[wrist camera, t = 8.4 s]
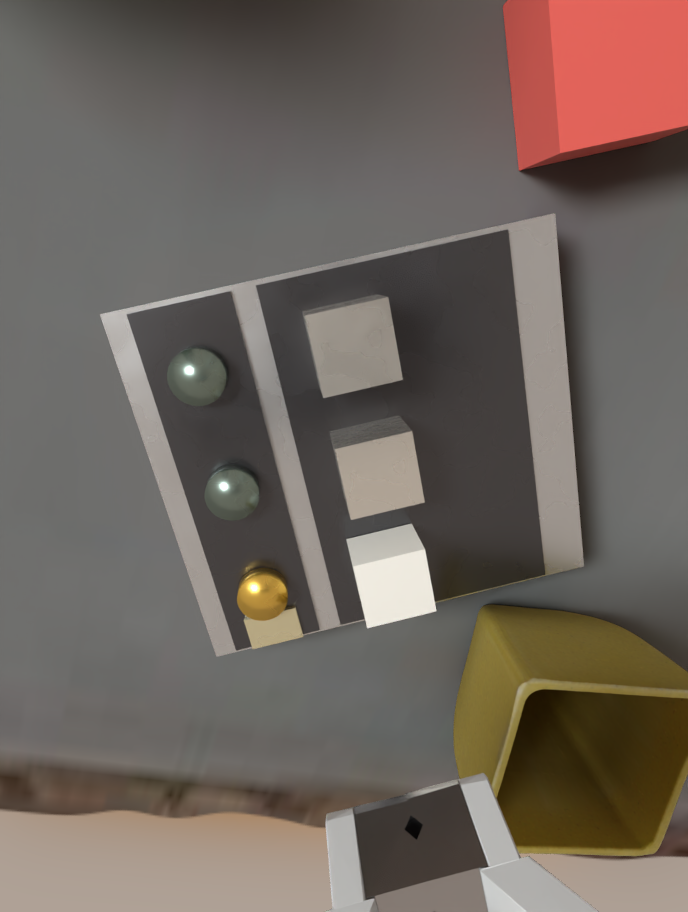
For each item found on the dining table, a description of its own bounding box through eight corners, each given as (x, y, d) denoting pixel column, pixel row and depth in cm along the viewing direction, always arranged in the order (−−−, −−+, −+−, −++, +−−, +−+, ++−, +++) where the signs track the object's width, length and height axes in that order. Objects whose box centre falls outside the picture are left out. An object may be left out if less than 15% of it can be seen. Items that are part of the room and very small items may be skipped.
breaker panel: (523, 220, 25) (590, 205, 20) (555, 538, 30) (615, 596, 25) (120, 309, 25) (76, 320, 19) (222, 619, 30) (210, 697, 24)
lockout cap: (647, -24, 23) (716, -80, 19) (652, 141, 25) (715, 119, 21) (502, 6, 23) (544, -44, 19) (519, 170, 25) (560, 153, 21)
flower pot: (455, 566, 30) (524, 681, 22) (606, 581, 32) (726, 695, 23) (422, 702, 33) (471, 854, 24) (562, 711, 34) (657, 857, 26)
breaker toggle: (411, 523, 26) (424, 549, 23) (422, 580, 26) (436, 611, 24) (346, 539, 25) (352, 566, 23) (359, 596, 26) (367, 628, 24)
